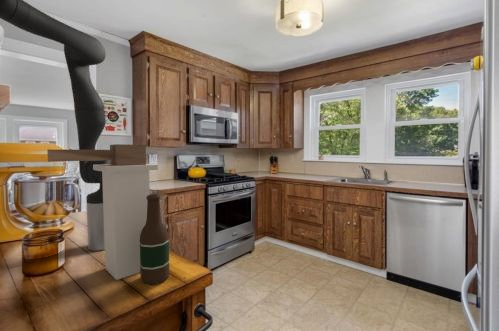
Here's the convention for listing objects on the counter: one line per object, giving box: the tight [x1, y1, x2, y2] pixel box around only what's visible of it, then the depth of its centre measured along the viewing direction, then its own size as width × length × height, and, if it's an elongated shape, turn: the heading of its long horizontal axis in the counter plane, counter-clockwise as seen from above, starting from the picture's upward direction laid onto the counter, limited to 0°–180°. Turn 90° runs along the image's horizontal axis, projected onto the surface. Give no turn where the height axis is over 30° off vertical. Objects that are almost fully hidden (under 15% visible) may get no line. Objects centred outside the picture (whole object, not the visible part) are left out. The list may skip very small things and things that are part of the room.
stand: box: [93, 163, 159, 281], centre depth 78 cm, size 13×14×32 cm
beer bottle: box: [139, 193, 170, 286], centre depth 72 cm, size 8×8×24 cm
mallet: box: [47, 143, 147, 166], centre depth 72 cm, size 8×23×6 cm, turn 131°
